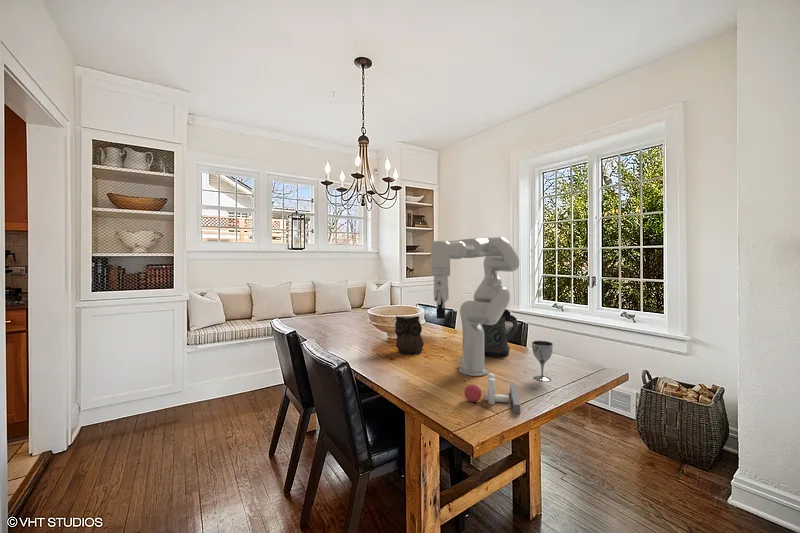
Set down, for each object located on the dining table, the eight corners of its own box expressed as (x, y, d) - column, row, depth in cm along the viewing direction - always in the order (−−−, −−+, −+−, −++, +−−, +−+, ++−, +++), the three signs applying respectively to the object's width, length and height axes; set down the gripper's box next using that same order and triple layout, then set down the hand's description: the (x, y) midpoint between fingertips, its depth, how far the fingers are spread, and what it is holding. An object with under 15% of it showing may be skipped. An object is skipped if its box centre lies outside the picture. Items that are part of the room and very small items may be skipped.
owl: (424, 353, 185) (424, 316, 185) (403, 357, 179) (403, 318, 179) (412, 348, 196) (412, 312, 196) (392, 351, 191) (392, 314, 190)
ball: (485, 401, 125) (470, 405, 127) (482, 384, 128) (467, 388, 131) (478, 398, 120) (463, 402, 123) (475, 380, 124) (460, 384, 126)
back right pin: (486, 402, 124) (486, 379, 124) (491, 401, 125) (491, 377, 125) (491, 405, 122) (491, 381, 122) (496, 403, 123) (496, 379, 123)
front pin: (483, 392, 127) (508, 394, 124) (484, 394, 128) (508, 396, 126) (483, 399, 125) (508, 401, 123) (483, 401, 127) (508, 403, 125)
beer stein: (473, 349, 193) (473, 303, 192) (508, 348, 194) (508, 303, 193) (482, 358, 176) (482, 308, 175) (520, 357, 178) (520, 307, 177)
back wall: (520, 414, 115) (520, 405, 115) (513, 413, 116) (513, 404, 116) (515, 392, 133) (515, 384, 133) (510, 392, 133) (510, 384, 133)
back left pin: (486, 397, 129) (486, 374, 129) (491, 395, 130) (491, 373, 130) (491, 399, 127) (491, 376, 127) (496, 397, 128) (496, 374, 128)
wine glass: (540, 382, 142) (540, 346, 142) (528, 376, 150) (528, 341, 150) (556, 380, 145) (557, 344, 144) (544, 374, 152) (544, 340, 152)
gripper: (448, 273, 131) (448, 322, 132) (451, 271, 146) (452, 315, 146) (428, 273, 133) (428, 321, 134) (433, 271, 147) (434, 314, 148)
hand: (440, 318), depth 140 cm, fingers closed
